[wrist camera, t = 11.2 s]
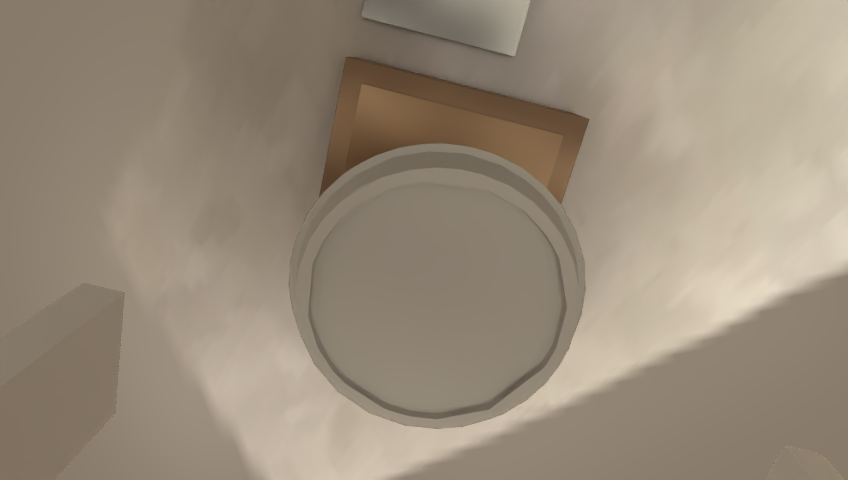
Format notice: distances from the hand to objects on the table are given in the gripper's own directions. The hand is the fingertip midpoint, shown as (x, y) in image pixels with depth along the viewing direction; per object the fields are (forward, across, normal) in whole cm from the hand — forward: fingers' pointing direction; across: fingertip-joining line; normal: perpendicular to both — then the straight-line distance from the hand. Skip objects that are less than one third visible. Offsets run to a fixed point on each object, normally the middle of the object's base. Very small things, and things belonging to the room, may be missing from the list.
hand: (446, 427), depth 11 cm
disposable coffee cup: (+18, 0, 0) cm, 18 cm away
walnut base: (+21, 0, -1) cm, 21 cm away
